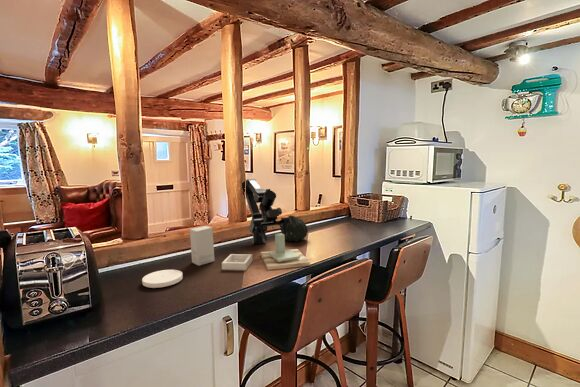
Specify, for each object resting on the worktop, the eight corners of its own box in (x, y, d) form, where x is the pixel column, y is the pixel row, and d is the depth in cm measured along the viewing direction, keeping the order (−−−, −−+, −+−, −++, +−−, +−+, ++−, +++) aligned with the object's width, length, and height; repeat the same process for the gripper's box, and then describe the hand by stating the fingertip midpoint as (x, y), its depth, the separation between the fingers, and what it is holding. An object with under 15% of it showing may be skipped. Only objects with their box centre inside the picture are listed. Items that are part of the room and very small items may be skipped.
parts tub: (230, 260, 139) (230, 254, 139) (252, 260, 138) (252, 254, 138) (222, 270, 128) (221, 262, 127) (245, 270, 126) (245, 263, 126)
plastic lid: (189, 276, 122) (189, 270, 122) (168, 291, 108) (167, 284, 108) (158, 274, 125) (158, 268, 125) (133, 288, 111) (133, 282, 111)
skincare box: (207, 258, 143) (206, 225, 142) (215, 261, 139) (213, 227, 137) (191, 262, 138) (188, 228, 136) (198, 266, 133) (196, 230, 131)
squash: (312, 227, 178) (294, 208, 177) (311, 234, 163) (292, 214, 163) (294, 243, 181) (277, 224, 180) (292, 252, 166) (273, 231, 165)
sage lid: (268, 255, 141) (267, 234, 140) (288, 252, 145) (288, 232, 144) (278, 263, 130) (277, 240, 129) (299, 259, 134) (299, 237, 133)
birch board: (260, 255, 146) (260, 252, 146) (297, 252, 150) (297, 249, 150) (267, 269, 127) (267, 266, 126) (309, 265, 131) (309, 262, 131)
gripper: (252, 203, 144) (260, 232, 135) (288, 200, 151) (299, 227, 143) (247, 217, 152) (255, 245, 143) (282, 214, 159) (292, 240, 151)
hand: (275, 239), depth 145 cm, fingers open, 9 cm apart
